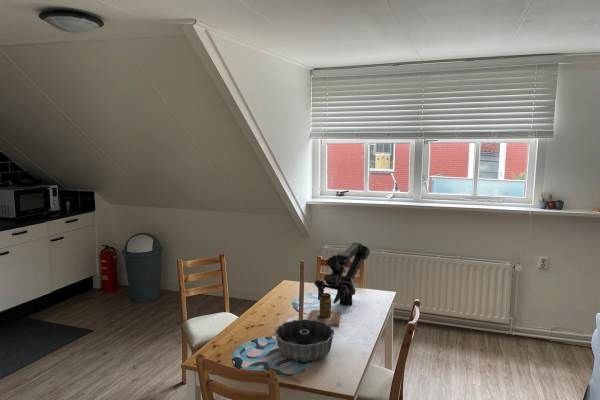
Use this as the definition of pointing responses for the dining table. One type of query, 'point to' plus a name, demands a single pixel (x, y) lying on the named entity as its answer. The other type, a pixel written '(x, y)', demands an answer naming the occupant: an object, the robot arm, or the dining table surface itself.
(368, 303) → the dining table surface
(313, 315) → the walnut board
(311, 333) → the bundt pan
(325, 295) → the condiment
